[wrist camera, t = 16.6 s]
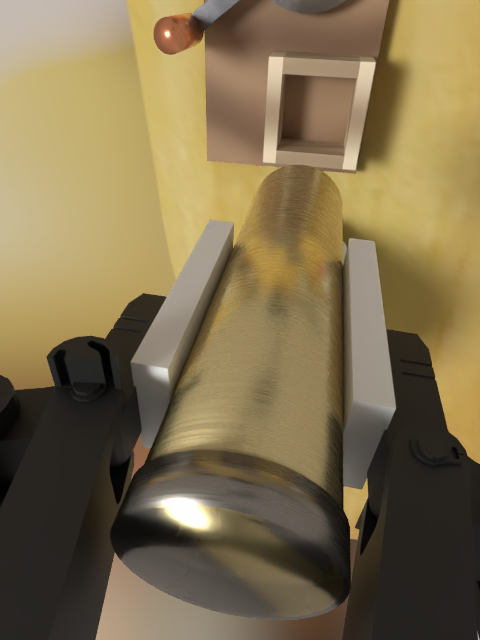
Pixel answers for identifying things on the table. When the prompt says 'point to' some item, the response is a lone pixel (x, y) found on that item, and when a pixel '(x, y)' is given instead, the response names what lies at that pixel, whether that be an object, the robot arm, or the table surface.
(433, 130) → the table surface
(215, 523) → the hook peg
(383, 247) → the table surface
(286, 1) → the handwheel
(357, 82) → the square socket
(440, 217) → the table surface
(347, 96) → the mount board
